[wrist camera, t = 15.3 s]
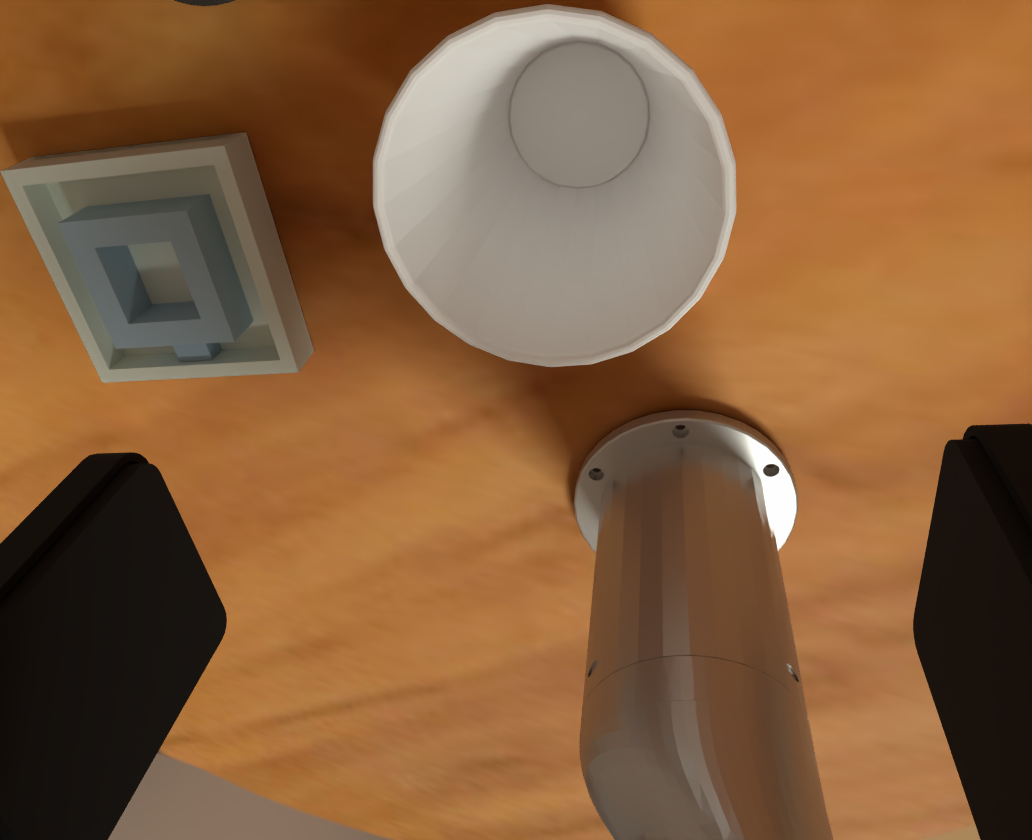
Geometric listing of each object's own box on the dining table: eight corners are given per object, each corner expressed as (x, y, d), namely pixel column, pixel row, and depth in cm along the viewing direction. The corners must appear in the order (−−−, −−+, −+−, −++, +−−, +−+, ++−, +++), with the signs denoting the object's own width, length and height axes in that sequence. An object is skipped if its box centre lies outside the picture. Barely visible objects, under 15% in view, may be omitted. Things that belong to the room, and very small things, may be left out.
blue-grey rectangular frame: (209, 194, 40) (186, 210, 38) (262, 346, 44) (244, 368, 42) (86, 206, 41) (57, 223, 39) (150, 353, 46) (127, 374, 44)
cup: (619, 284, 40) (607, 422, 30) (408, 163, 38) (319, 266, 28) (772, 64, 34) (822, 143, 24) (526, -96, 32) (466, -84, 22)
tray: (314, 350, 45) (298, 372, 43) (125, 361, 47) (102, 382, 45) (246, 132, 39) (224, 145, 37) (31, 157, 41) (-1, 171, 39)
